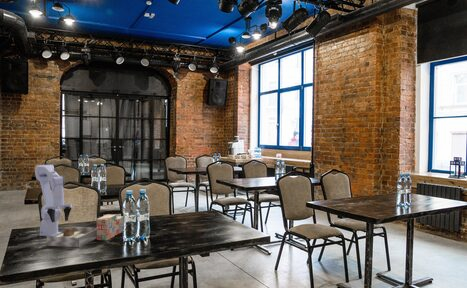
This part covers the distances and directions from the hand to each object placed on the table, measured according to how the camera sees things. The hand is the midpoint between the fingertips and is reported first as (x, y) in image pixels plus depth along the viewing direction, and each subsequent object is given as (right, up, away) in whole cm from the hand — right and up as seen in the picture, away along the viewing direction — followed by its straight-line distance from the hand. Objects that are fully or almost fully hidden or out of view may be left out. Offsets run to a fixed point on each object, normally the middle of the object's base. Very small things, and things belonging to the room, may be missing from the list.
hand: (59, 221), depth 210 cm
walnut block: (+5, -8, -1) cm, 9 cm away
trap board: (+8, -11, -1) cm, 14 cm away
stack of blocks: (+26, -11, +10) cm, 30 cm away
